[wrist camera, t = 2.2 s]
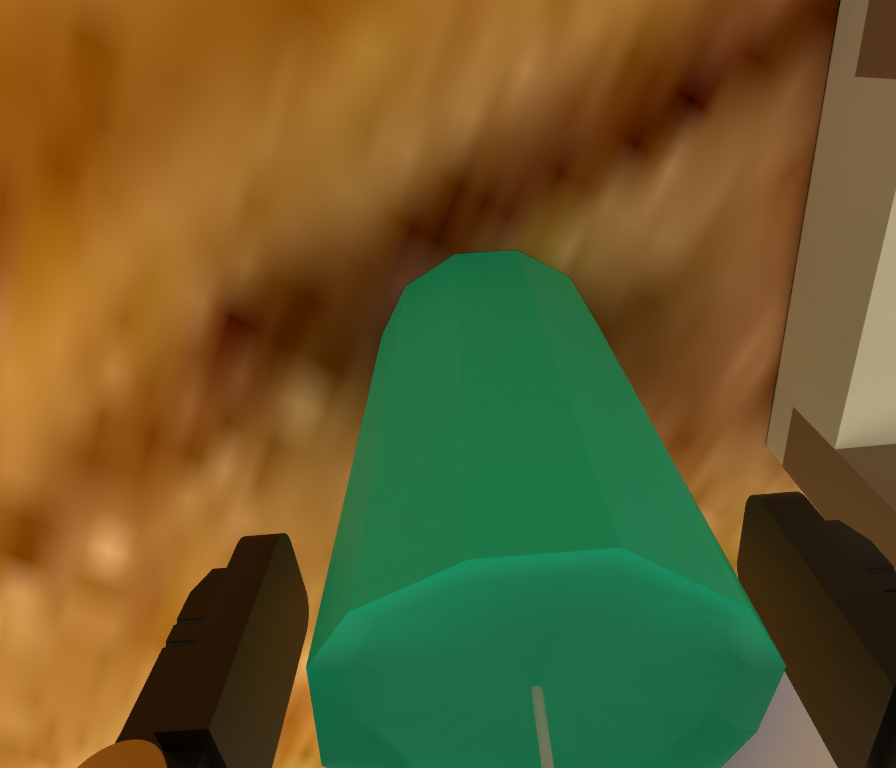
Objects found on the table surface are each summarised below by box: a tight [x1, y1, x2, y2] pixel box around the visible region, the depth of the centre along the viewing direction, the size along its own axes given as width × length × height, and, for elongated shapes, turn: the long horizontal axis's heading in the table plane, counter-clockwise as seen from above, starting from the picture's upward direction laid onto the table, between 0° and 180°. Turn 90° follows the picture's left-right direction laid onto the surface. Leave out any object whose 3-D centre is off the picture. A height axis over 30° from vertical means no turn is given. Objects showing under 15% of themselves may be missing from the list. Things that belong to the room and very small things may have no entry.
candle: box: [306, 250, 786, 768], centre depth 11 cm, size 6×6×12 cm
